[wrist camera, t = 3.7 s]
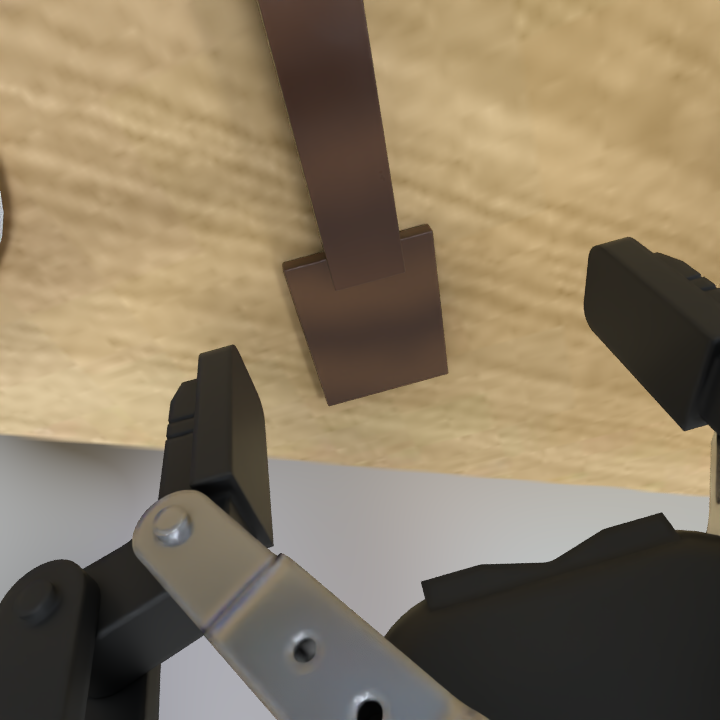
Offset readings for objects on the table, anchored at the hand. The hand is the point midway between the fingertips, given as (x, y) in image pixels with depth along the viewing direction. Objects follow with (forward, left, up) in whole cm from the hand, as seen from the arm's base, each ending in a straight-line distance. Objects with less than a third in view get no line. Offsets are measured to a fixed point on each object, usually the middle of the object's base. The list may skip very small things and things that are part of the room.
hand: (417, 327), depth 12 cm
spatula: (+1, 0, -13) cm, 13 cm away
